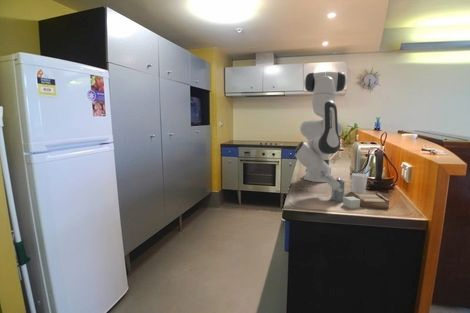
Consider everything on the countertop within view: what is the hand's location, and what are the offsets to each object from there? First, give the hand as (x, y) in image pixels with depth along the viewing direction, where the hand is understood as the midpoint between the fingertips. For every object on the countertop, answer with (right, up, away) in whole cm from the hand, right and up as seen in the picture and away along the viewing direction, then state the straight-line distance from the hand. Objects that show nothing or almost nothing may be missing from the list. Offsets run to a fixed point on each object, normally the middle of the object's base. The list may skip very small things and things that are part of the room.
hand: (339, 189), depth 132 cm
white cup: (+16, -4, +14) cm, 22 cm away
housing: (-1, -5, +1) cm, 5 cm away
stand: (+13, -6, -5) cm, 15 cm away
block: (+2, -7, -8) cm, 11 cm away
